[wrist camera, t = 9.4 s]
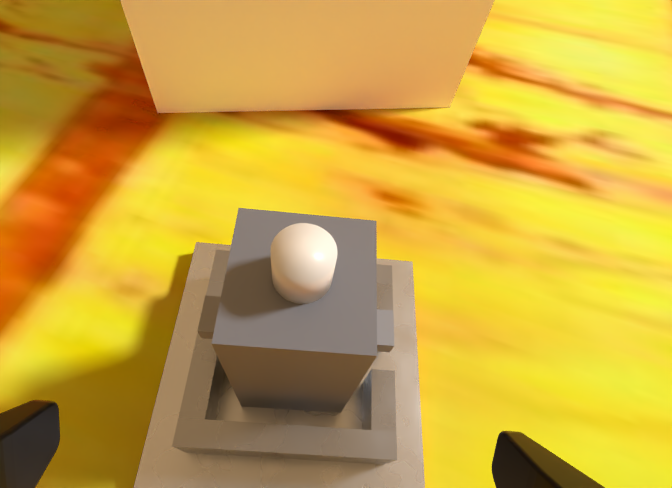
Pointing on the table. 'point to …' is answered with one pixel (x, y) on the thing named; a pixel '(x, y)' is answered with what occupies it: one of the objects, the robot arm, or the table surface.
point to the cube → (303, 52)
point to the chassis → (283, 424)
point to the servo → (298, 310)
